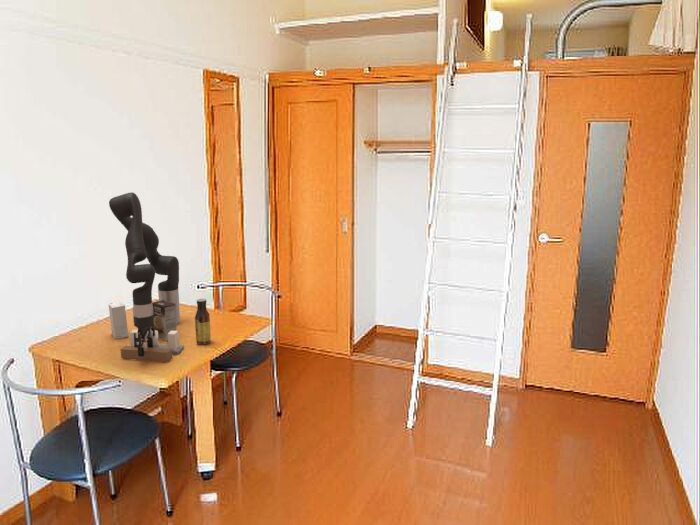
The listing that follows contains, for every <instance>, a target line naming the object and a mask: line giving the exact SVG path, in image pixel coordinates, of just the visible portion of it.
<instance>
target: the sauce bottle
mask: <svg viewBox="0 0 700 525" xmlns="http://www.w3.org/2000/svg"><path fill="white" fill-rule="evenodd" d="M196 304H197V305H196V306H197V308H196V312H195V316H194V324H195V325H194V328H195V340H196V341H195V342H196V343H197V345H208V344H209V343H210V342H211V336H212V335H211V320H210V313H209V311H208V310H207V299H206V298H197V300H196Z"/></svg>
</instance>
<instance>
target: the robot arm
mask: <svg viewBox="0 0 700 525" xmlns="http://www.w3.org/2000/svg"><path fill="white" fill-rule="evenodd" d="M139 198H140V197H138V195H137V194H136V193H135V192H127V193H123V194H120V195H116V196H113V197H112V198H110V199H109V202H108V205H109V208H110V211H111V212H112V214H113V216H114V217H115V218H116V219H117V221H118V222H120V224H121V225H122V226H123V227H124V229H125V230H127V233H126V237H125V242H124V245H125V249H126V256H127V265H126V273H125V277H126V280H127V281H128V282H129V284H139V283H141V284H142V283H144V284H143V285H141V286H139V287H136V288H133V290H132V316H133V318H132V319H133V326H134V327H135V328H136V329H138V332H137V333H134V347H135V348H138V356H141V357H143V356H144V344H147V347H152V348H153V340H152V339H153V338H154V337H153V336H155V326H154V315H153V305H152V303H153V298H152V295H153V294H152V291H153V285H154V284H153V283H154V282H155V281H154V280H155V276H156V275H159V276H167V278H166V280H163V281H160V282H159V283H158V284H157V296H158V301H162V300H164V301H168V302H171V303H175V304H176V326H178V325H179V324H180V323H181V314H180V311H181V310H180V308H181V307H180V292H179V291H180V290H179V282H180V265H179V264H180V262H179V259H178V258H177V257H176V256H175V255H172V256H171V255H162V254H160V252H159V251H158V248H159V244H160V241H159V236H158V235H157V233H156V231H155V230H154V228H153V227H151V226H150V225H149V224H147V223H145V222H143V211H142V205H141V201H140V199H139ZM146 259H147V261H148V263H145V264H144V263H143V264H138V263H141V262H143V261H145V260H146ZM152 331H153V333H152Z"/></svg>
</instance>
